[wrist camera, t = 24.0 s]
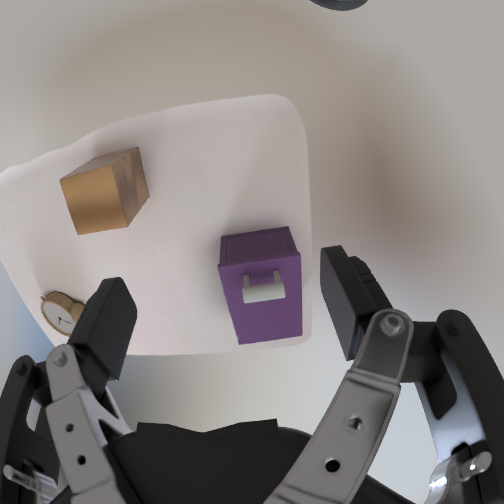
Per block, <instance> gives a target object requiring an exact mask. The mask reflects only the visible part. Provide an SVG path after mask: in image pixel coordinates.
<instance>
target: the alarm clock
mask: <svg viewBox="0 0 504 504" xmlns="http://www.w3.org/2000/svg"><path fill="white" fill-rule="evenodd" d="M41 298H42V300H43V302H42V304H41V311H42V314H43V316H44V318H45V319H46V321H47V322H48V323H49V324H50V325H51V326H52V327H53V328H54V329H55V330H56V331H58V332H59V333H61V334H63V335H65V336H68V337H70V335H71V333H72V331H73V329H74V327H75V325H76V323H77V321H78V319H80V315H81V313H82V311H83V309H84V305H82V304H81V303H74V302H73V301H72V300H71V299H70V298H68V297H67V296H65V295H63V294H61V293H58V292H51V293H50V294H49V295H48V296H47V297H46V299H45V298H44V297H42V296H41Z"/></svg>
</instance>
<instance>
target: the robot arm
mask: <svg viewBox="0 0 504 504" xmlns="http://www.w3.org/2000/svg"><path fill="white" fill-rule="evenodd" d="M333 1H337V2H349V1H353V0H333ZM320 262H321V263H320V264H321V265H320V284H321V291H322V294H323V297H324V300H325V303H326V305H327V308H328V311H329V313H330V316H331V319H332V321H333V324H334V327H335V330H336V333H337V335H338V338H339V341H340V344H341V347H342V349H343V352H344V355H345V358H346V361H349V360H354V359H355V360H354V362H353V364H352V366H351V368H350V370H348V371H347V372H346V374H345V376H344V378H343V380H342V382H341V384H340V386H339V388H338V390H337V392H336V394H335V396H334V398H333V400H332V402H331V403H330V405H329V407H328V409H327V411H326V413H325V415H324V416H323V418H322V420H321V422H320V423H319V425H318V427H317V429H316V430H315V432H314V433H313V435H310V434H308V433H305V432H303V431H300V430H297V429H293V428H287V427H279V426H278V424H277V419H270V420H261V421H252V422H241V423H236V424H234V425H230V426H227V427H223V428H219V429H215V430H212V431H208V432H204V433H203V432H196V431H192V430H188V429H184V428H180V427H177V426H173V425H170V424H157V423H142V422H138V424H137V431H134V432H133V431H132V430H131V429H130V428H129V427H128V425H127V424H126V422H125V421H124V419H123V417H122V415H121V413H120V411H119V409H118V407H117V405H116V403H115V401H114V399H113V396H112V394H111V392H110V390H109V389H108V387H107V386H106V385H107V381H119V377H120V374H121V370H122V366H123V363H124V359H125V356H126V352H127V349H128V345H129V342H130V339H131V335H132V332H133V329H134V326H135V323H136V320H137V308H136V305H135V303H134V301H133V299H132V297H131V295H130V293H129V291H128V289H127V287H126V285H125V283H124V281H123V279H122V278H121V277H115V278H108V279H104V280H103V281H102V282H101V284H100V286H99V288H98V290H97V292H95V293H94V294H93V295H92V296H91V297H90V299H89V300H88V301H87V303H86V305H85V307H84V309H83V311H82V313H81V315H80V319H78V321H77V323H76V325H75V327H74V329H73V331H72V333H71V335H70V338H69V340H68V342H67V344H61V345H59V346H57V347H55V348H54V349H53V350H52V351H51V352H50V354H49V355H48V357H47V360H46V361H43V362H40V363H35V361H34V360H33V359H32V358H31V357H30V356H28V355H24V356H21V357H20V358H18V359H17V360H16V361H15V363H14V364H13V366H12V368H11V371H10V373H9V375H8V378H7V381H6V383H5V386H4V389H3V391H2V394H1V397H0V504H415V503H413V502H411V501H410V500H408V499H406V498H404V497H403V496H401V495H399V494H398V493H396V492H394V491H393V490H391V489H389V488H388V487H386V486H385V485H383V484H381V483H380V482H378V481H377V480H375V479H374V478H372V477H371V476H369V475H368V474H367V472H368V470H369V468H370V466H371V464H372V462H373V460H374V457H375V456H376V453H377V451H378V449H379V447H380V444H381V442H382V440H383V437H384V435H385V433H386V430H387V428H388V425H389V422H390V420H391V417H392V415H393V412H394V409H395V406H396V403H397V400H398V397H399V394H400V390H401V385H400V383H406V382H408V383H411V382H414V383H415V386H416V388H417V391H418V394H419V397H420V400H421V403H422V406H423V408H424V412H425V415H426V417H427V421H428V424H429V427H430V431H431V434H432V437H433V441H434V444H435V448H436V451H437V455H438V459H439V464H438V465H437V467H436V468H435V469H434V471H433V473H432V475H431V478H430V493H429V496H428V498H427V500H426V502H425V503H424V504H504V380H503V377H502V375H501V373H500V371H499V370H498V367H497V366H496V363H495V362H494V360H493V358H492V356H491V354H490V353H489V350H488V349H487V347H486V345H485V343H484V342H483V340H482V338H481V336H480V335H479V333H478V331H477V330H476V328H475V326H474V325H473V323H472V322H471V320H470V319H469V317H467V315H465V314H464V313H462V312H460V311H457V310H445V311H443V312H442V313H441V314H440V315H439V316H438V318H437V321H436V322H417V321H412V320H411V318H410V317H409V316H408V315H407V314H406V313H404V312H402V311H400V310H397V309H394V308H393V307H392V305H391V303H390V302H389V300H388V298H387V297H386V295H385V293H384V292H383V290H382V289H381V287H380V285H379V284H378V282H377V281H376V279H375V278H374V276H373V274H371V271H370V269H369V268H368V266H367V265H366V263H365V262H363V261H362V260H360V259H359V258H358V257H356V256H352V257H348V256H347V254H346V252H345V251H344V249H343V248H342V246H341V245H338V246H332V247H325V248H321V261H320ZM32 399H34V400H35V401H36V402H37V403H38V404H39V405H41V409H40V412H39V416H38V420H37V424H36V429H35V432H34V431H32V430H31V429H30V428H29V427H28V425H27V422H26V417H27V413H28V409H29V406H30V403H31V400H32ZM60 462H61V465H62V468H63V470H64V473H65V476H66V478H67V481H68V483H69V485H68V486H67V487H66V488H65V489H64V490H63V491H62V490H60V489H58V487H57V485H58V476H59V467H60Z"/></svg>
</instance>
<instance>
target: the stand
mask: <svg viewBox="0 0 504 504" xmlns="http://www.w3.org/2000/svg"><path fill="white" fill-rule="evenodd" d="M60 183H61V186H62V190H63V193H64V196H65V200H66V203H67V206H68V209H69V212H70V215H71V218H72V220H73V223H74V226H75V229H76V231H77V234H78V235H82V234H88V233H94V232H100V231H106V230H112V229H118V228H125V227H128V226H129V224H130V223H131V222H132V220H133V219H134V217H135V216H136V214H137V213H138V212H139V210H140V209H141V207H142V206H143V205H144V203H145V202H146V200H147V199H148V198H149V195H148V190H147V186H146V182H145V177H144V173H143V168H142V163H141V158H140V153H139V148H138V147H137V148H133V149H128V150H124V151H120V152H116V153H113V154H109V155H105V156H101V157H98V158H94V159H92V160H90V161H89V162H87V163H85V164H84V165H82V166H80V167H79V168H77V169H76V170H74V171H72V172H71V173H69V174H68V175H66V176H65V177H63V178H61V179H60Z"/></svg>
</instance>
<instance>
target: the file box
mask: <svg viewBox="0 0 504 504" xmlns="http://www.w3.org/2000/svg"><path fill="white" fill-rule="evenodd" d="M295 252H298V251H297V249H296V246H295V243H294V241H293V238H292V235H291V233H290V230H289V227H283V228H276V229H269V230H262V231H255V232H249V233H242V234H235V235H229V236H222V237H221V249H220V264H221V263H228V262H234V261H241V260H248V259H255V258H261V257H268V256H275V255H282V254H288V253H295Z"/></svg>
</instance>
